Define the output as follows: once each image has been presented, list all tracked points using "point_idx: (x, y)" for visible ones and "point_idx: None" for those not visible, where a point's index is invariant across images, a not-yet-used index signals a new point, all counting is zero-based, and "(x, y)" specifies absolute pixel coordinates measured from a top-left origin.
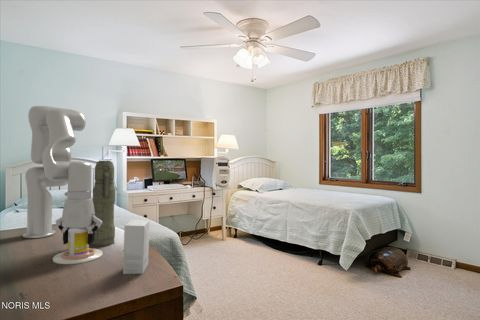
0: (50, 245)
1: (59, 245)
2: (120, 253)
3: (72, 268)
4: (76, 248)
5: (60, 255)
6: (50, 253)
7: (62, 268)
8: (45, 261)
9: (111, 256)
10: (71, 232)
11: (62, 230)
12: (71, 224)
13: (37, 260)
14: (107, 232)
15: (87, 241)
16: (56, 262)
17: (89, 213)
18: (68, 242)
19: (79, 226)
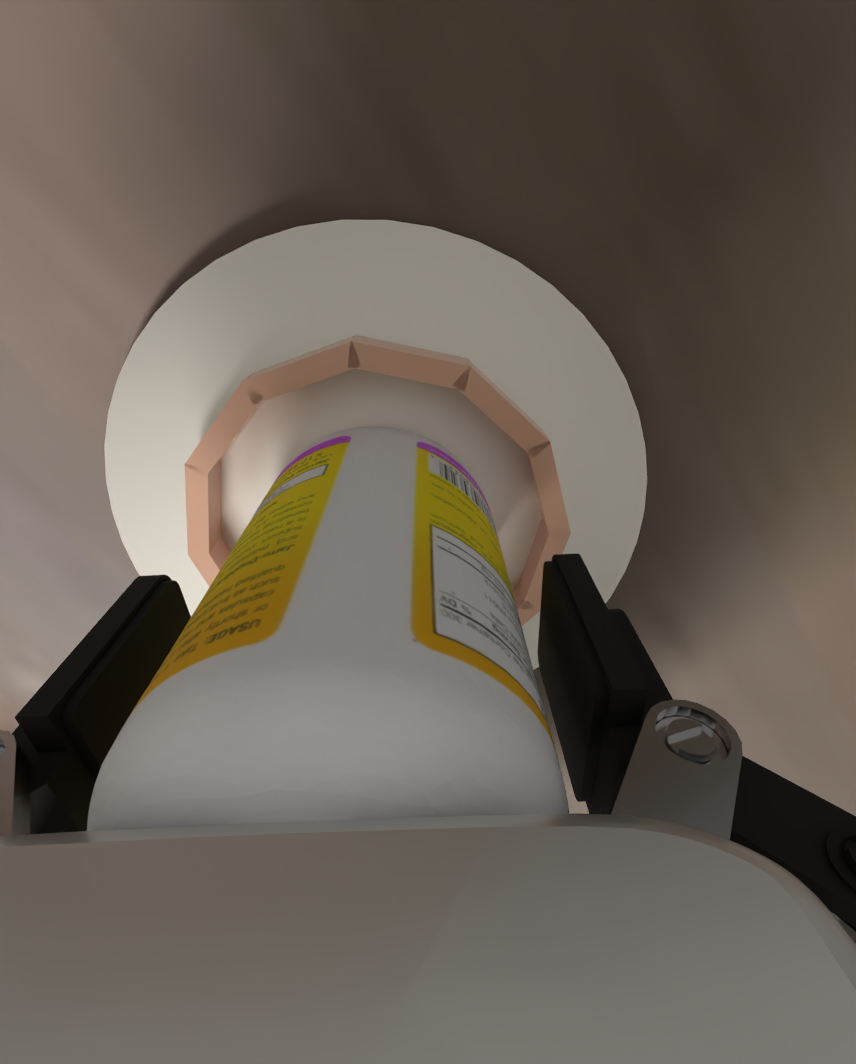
0: (844, 755)
1: (760, 763)
2: (32, 651)
3: (111, 41)
4: (305, 474)
5: (583, 487)
6: (751, 574)
7: (261, 16)
8: (684, 309)
9: (37, 566)
10: (364, 653)
11: (721, 762)
12: (380, 961)
13: (807, 333)
14: None
15: (150, 605)
16: (499, 253)
17: None
18: (470, 543)
19: (46, 878)
